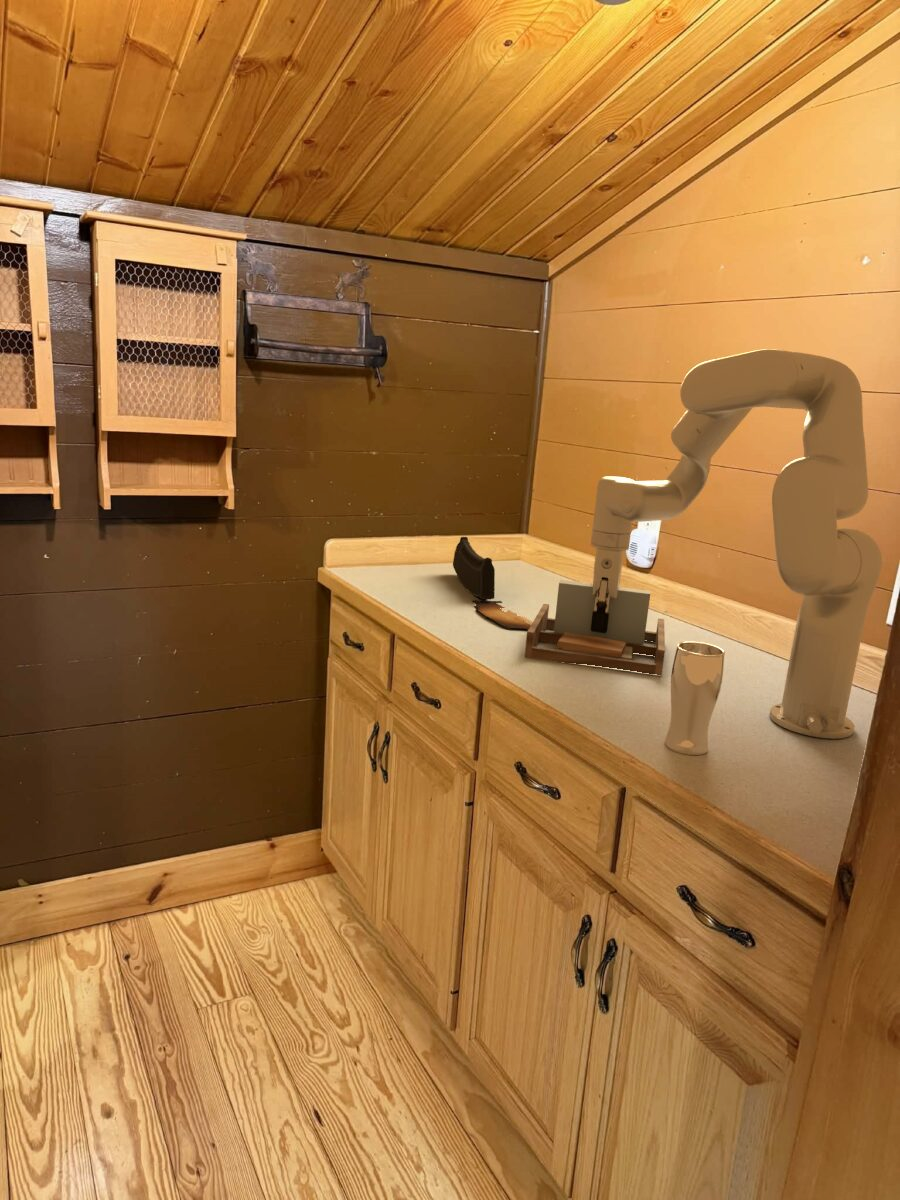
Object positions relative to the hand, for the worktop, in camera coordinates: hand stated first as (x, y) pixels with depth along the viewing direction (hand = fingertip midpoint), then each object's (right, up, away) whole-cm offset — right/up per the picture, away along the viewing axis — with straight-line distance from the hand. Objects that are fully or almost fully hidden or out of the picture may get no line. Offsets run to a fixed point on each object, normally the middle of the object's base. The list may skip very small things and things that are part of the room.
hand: (599, 627), depth 170 cm
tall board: (0, -3, +1) cm, 4 cm away
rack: (-1, -4, -3) cm, 5 cm away
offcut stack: (-3, -6, -8) cm, 11 cm away
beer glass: (+4, -16, -48) cm, 51 cm away
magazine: (-25, +8, +41) cm, 49 cm away
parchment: (-19, +1, +17) cm, 25 cm away
